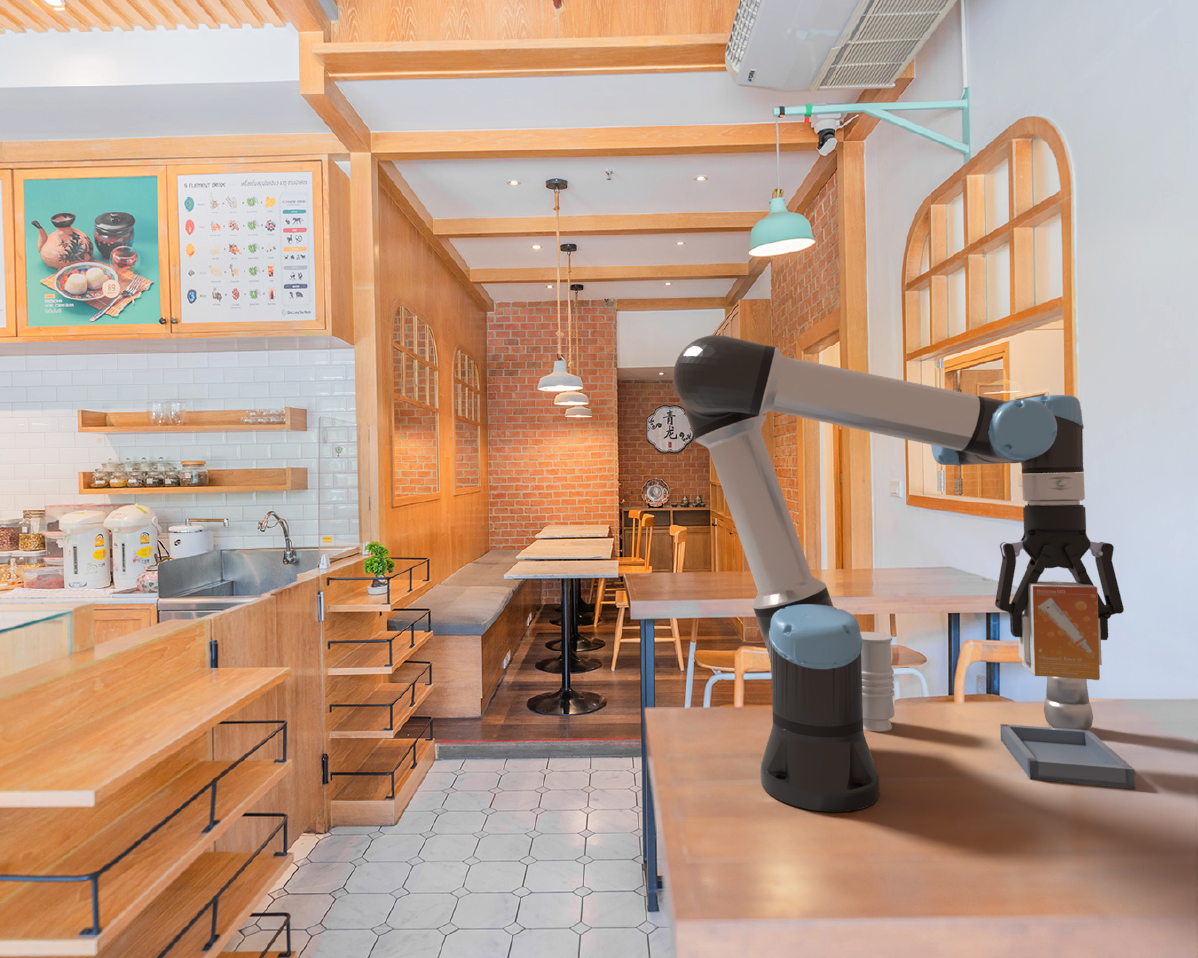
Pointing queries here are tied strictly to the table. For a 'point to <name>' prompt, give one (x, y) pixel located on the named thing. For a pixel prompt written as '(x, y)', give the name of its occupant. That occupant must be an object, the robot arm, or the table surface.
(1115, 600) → the robot arm
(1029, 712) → the table surface
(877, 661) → the white bottle
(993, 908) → the table surface
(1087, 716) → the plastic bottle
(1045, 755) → the tray
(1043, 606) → the small box
